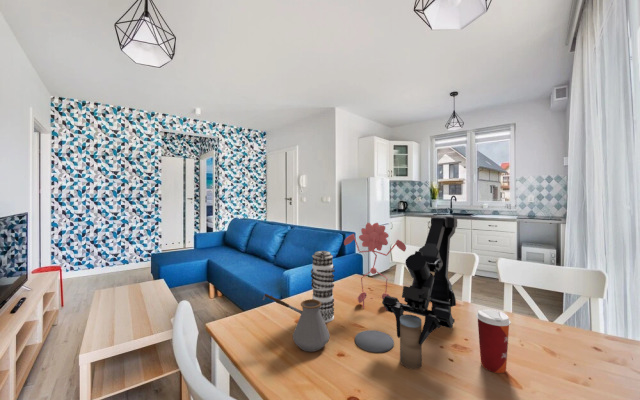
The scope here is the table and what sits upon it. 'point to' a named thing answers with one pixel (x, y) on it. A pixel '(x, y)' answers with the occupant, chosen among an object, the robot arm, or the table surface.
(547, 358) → the table surface
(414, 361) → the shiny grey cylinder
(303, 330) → the coffee pot
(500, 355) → the paper cup
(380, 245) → the figurine
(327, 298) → the decorative candle
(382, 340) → the felt mat
